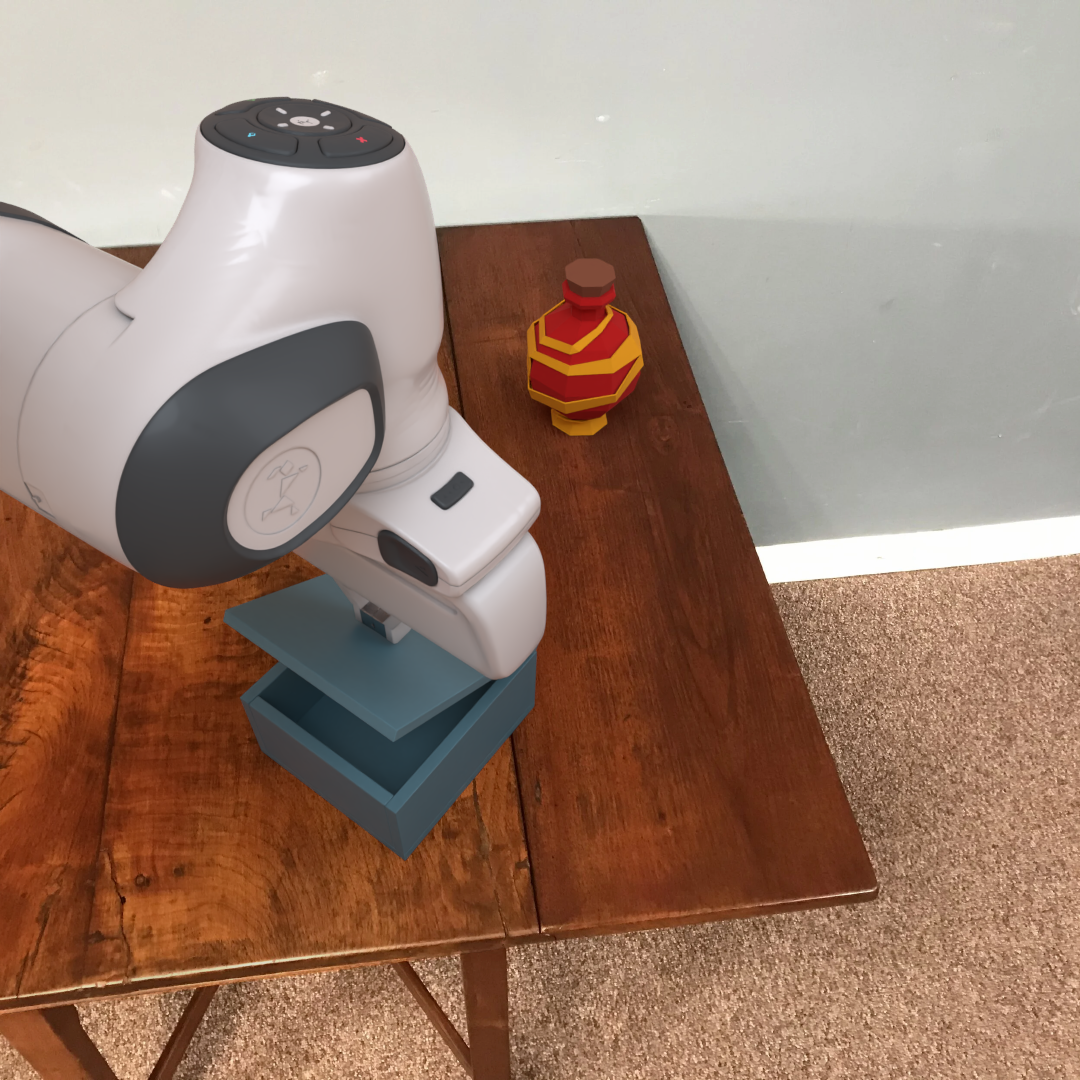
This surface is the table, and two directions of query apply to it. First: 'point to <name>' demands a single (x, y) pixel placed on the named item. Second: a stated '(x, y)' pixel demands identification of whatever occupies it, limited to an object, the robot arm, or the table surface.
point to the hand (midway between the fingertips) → (385, 624)
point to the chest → (385, 750)
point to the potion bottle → (583, 351)
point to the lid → (355, 656)
